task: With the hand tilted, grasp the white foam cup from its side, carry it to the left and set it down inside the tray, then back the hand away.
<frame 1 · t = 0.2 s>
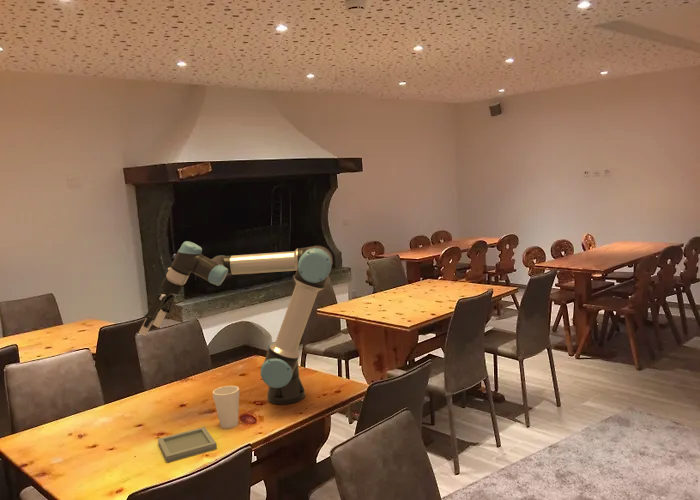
hand: (149, 330, 213), 35 cm above the table, tool tilted 35°, fingers open, 13 cm apart
tray: (187, 446, 191), on the table
foam cup: (229, 425, 207), on the table
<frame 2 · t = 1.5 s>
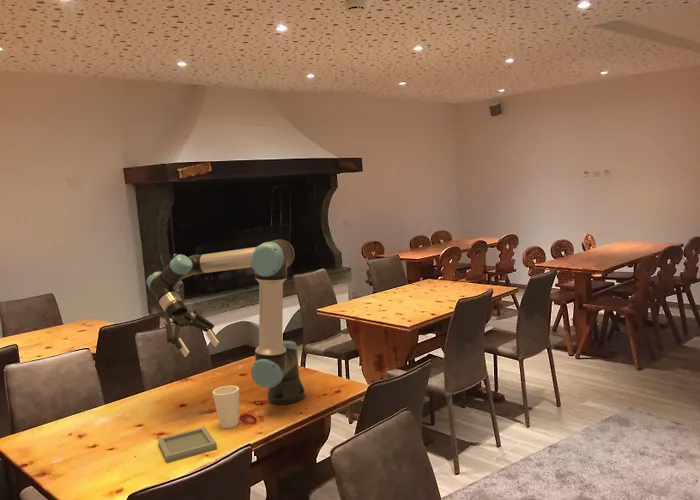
hand: (202, 349, 210), 27 cm above the table, tool tilted 45°, fingers open, 13 cm apart
nothing on the table moved.
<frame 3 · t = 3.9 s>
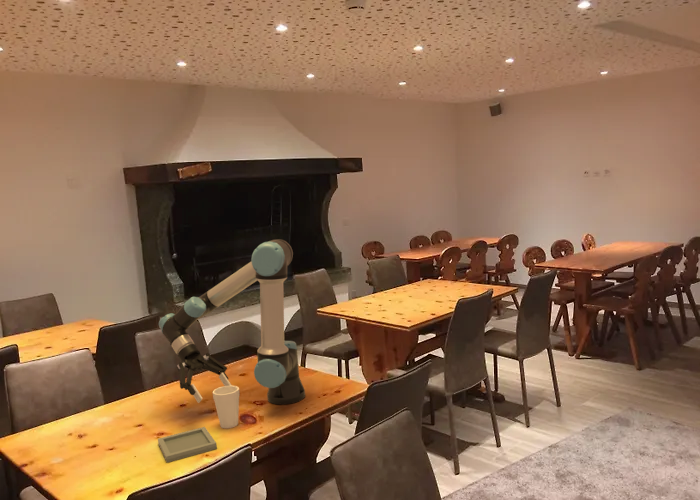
hand: (215, 394, 208), 11 cm above the table, tool tilted 45°, fingers open, 13 cm apart
nothing on the table moved.
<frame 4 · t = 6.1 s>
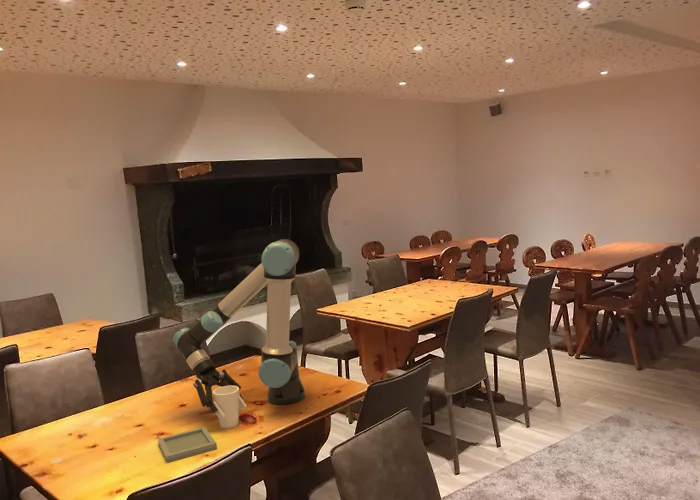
hand: (233, 413, 204), 5 cm above the table, tool tilted 45°, fingers closed on foam cup, 9 cm apart
foam cup: (229, 425, 207), on the table, touching gripper
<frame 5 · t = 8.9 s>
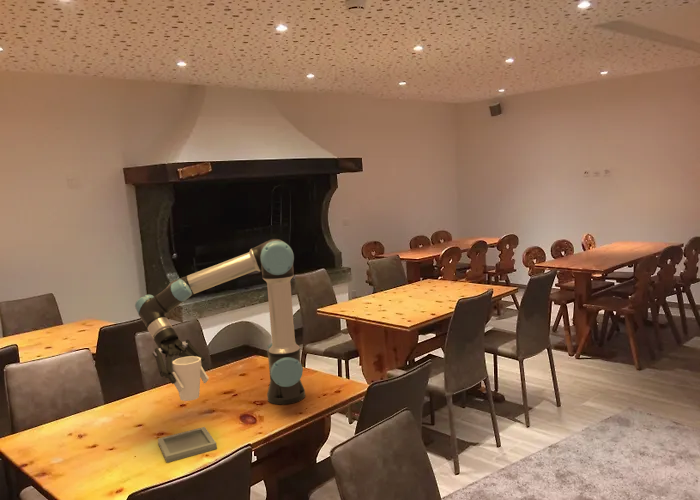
hand: (194, 385, 192), 20 cm above the table, tool tilted 45°, fingers closed on foam cup, 9 cm apart
foam cup: (189, 398, 194), point 15 cm above the table, touching gripper
when the fingers open (7 cm above the table, at t = 12.0 s): foam cup drops 1 cm, resting on tray.
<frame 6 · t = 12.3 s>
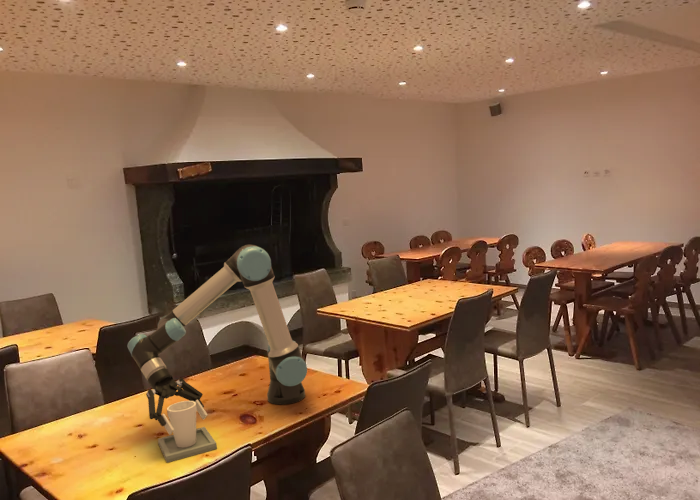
hand: (189, 424, 189), 8 cm above the table, tool tilted 45°, fingers open, 13 cm apart
foam cup: (186, 443, 191), point 1 cm above the table, touching tray
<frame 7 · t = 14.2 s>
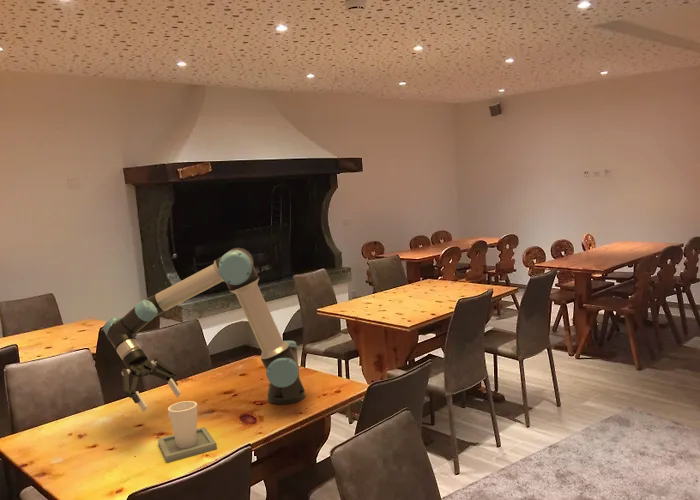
hand: (162, 401, 196), 14 cm above the table, tool tilted 45°, fingers open, 13 cm apart
nothing on the table moved.
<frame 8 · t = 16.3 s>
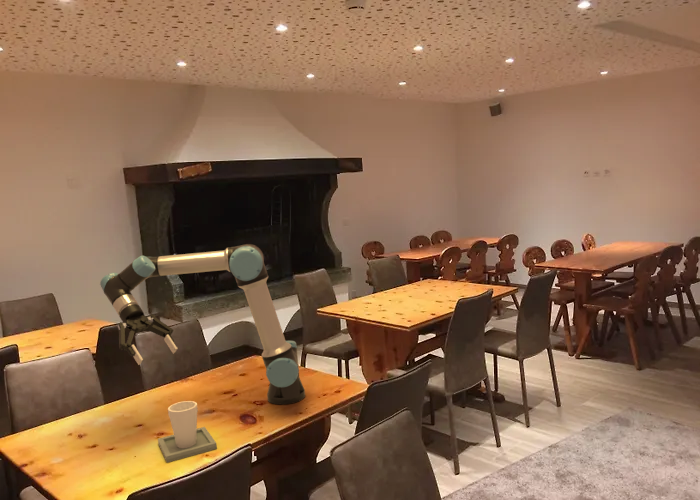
hand: (158, 356, 194), 30 cm above the table, tool tilted 45°, fingers open, 13 cm apart
nothing on the table moved.
at the end: foam cup inside the target area on the tray (0.1 cm from its centre), point 0.8 cm above the tray's base; foam cup tilted 0°; the gripper is holding nothing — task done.
